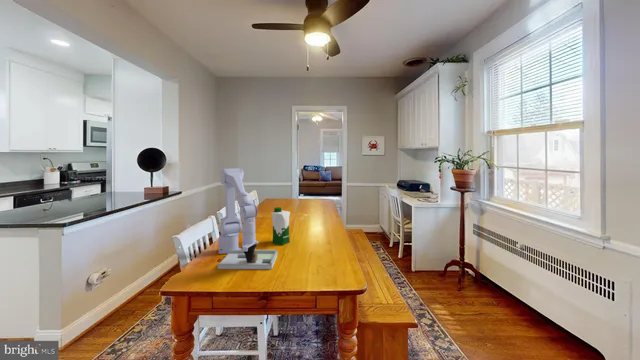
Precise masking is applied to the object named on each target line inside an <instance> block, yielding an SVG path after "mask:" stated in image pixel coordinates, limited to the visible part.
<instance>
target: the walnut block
mask: <svg viewBox="0 0 640 360" xmlns="http://www.w3.org/2000/svg"><path fill="white" fill-rule="evenodd" d="M257 260H258V255H257V251H254V254H253V260H252V262H247V263H256V261H257Z"/></svg>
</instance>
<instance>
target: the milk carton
mask: <svg viewBox="0 0 640 360" xmlns="http://www.w3.org/2000/svg"><path fill="white" fill-rule="evenodd" d="M273 210H274V211H271V212H270V215H271V218H272V219H271V220H272V242H271V243H272V244H274V245H278V246H284V245H287V244H289V243H291V242H290V216H291V211H288V210H283V209H282V207H280V206H279V207H278V206H277V207H274V209H273Z"/></svg>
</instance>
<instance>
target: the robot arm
mask: <svg viewBox="0 0 640 360" xmlns="http://www.w3.org/2000/svg"><path fill="white" fill-rule="evenodd" d="M244 175H245V174H244V170H243V169H242V167H237V168H235V167H234V168H233V167H231V168H224V167H223V168H222V169H221V171H220V184H221V185H223V186H224V201H225V203H224V204H225V216H224V217H223V218H222V219H221V220H219V221H220V222H219V223H220V225H219V233H220V235H219V237H218V254H221V255H222V254H223V255H224V254H227V255H228V254H229V250H242V251H243V252H244V254H245V257H246V260H247V262H252V260H253V254H254V250H256V248H257V244H259V241H258V240H256V218H257V216H258V207H257V205H256V204H255V203H254V202H252V199H251V197H250V194H249V192H247V191H246V190H245V186H244V182H243V180H244V178H245V177H244ZM235 192H236V193H235ZM236 201H237V204H238V207H239V216H237V215H236ZM240 233H241V237H242V238H241V240H242V242H241V244H242V245H241V246H242V247H239V235H240Z"/></svg>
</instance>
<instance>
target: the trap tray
mask: <svg viewBox="0 0 640 360" xmlns="http://www.w3.org/2000/svg"><path fill="white" fill-rule="evenodd" d="M254 251H257V255H258V260H257V261H256V263H247V260H246V257H245V254H244V252H243V251H242V249H240V250H229V254H227V255H226V256H225V257H224V258H223V259H222V260H221V261H220V262H219V263H218V264H217V269H218V270H272V269H273V267H274V264H275V263H276V259H277V258H278V249H255V250H254Z"/></svg>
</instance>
